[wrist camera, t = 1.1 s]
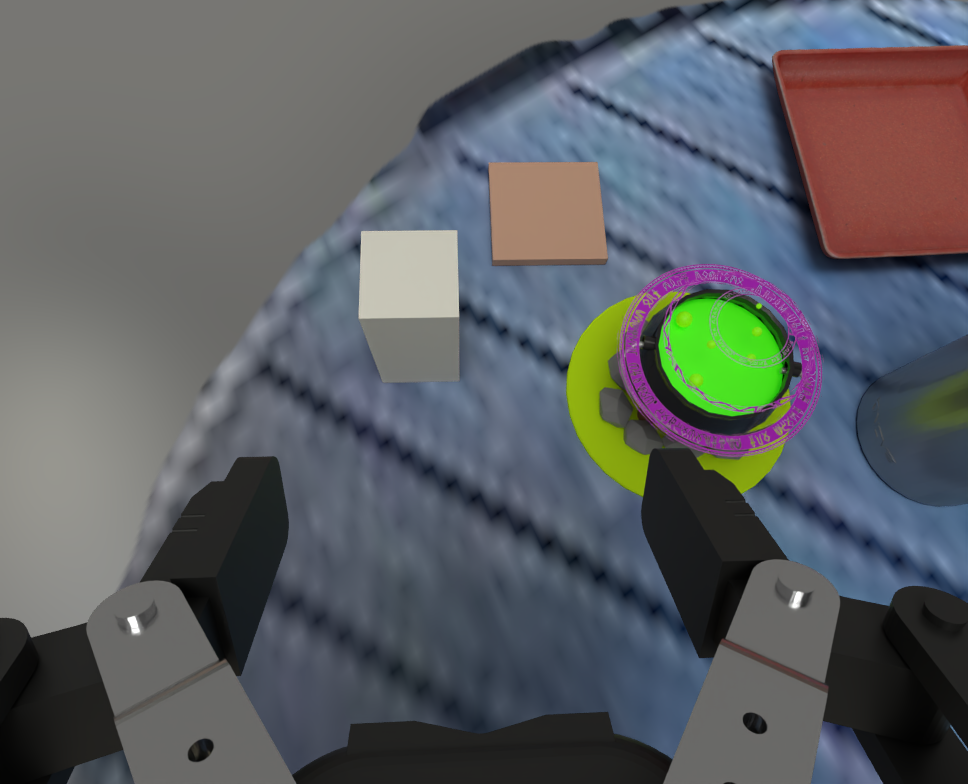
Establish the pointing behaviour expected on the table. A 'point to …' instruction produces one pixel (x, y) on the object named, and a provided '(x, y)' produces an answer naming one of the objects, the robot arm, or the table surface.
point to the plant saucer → (880, 146)
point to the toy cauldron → (691, 379)
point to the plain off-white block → (411, 304)
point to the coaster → (546, 214)
